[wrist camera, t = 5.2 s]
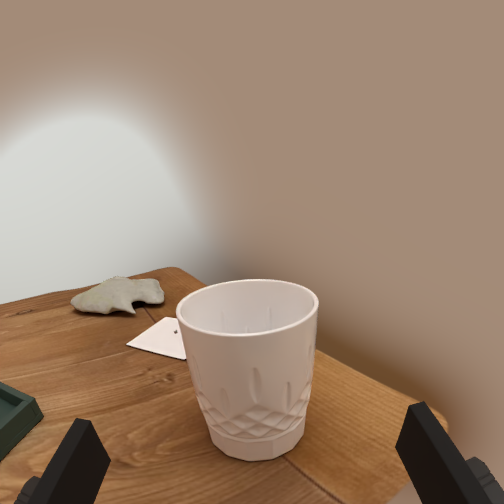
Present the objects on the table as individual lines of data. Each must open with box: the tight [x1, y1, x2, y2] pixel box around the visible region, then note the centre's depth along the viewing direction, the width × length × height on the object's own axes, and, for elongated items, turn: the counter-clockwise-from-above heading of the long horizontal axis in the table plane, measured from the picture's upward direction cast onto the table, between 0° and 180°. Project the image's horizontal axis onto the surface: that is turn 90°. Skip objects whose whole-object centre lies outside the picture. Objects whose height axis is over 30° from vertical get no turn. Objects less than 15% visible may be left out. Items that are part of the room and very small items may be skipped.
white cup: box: [176, 279, 319, 461], centre depth 18 cm, size 8×8×10 cm
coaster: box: [126, 317, 186, 360], centre depth 34 cm, size 8×8×1 cm
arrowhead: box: [70, 277, 164, 314], centre depth 43 cm, size 12×3×15 cm
